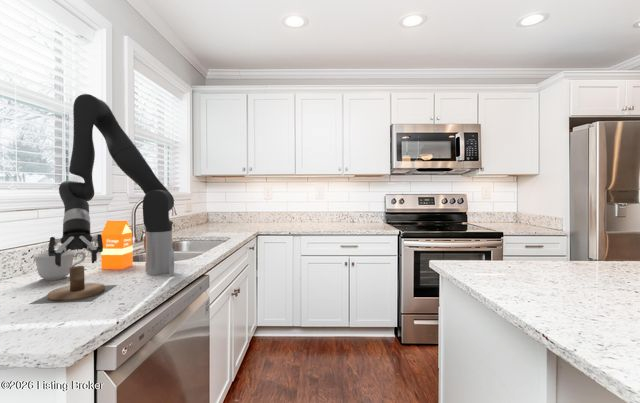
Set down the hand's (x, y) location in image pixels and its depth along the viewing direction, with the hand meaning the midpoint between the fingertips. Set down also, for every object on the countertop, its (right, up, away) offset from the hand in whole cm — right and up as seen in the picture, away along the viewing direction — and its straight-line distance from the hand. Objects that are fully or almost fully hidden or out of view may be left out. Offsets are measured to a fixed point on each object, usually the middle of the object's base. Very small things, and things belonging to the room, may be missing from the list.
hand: (76, 263), depth 101 cm
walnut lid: (+3, -9, -3) cm, 10 cm away
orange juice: (-10, -9, +35) cm, 38 cm away
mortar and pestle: (+6, -9, +40) cm, 41 cm away
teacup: (-17, -9, +15) cm, 24 cm away
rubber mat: (+3, -10, -3) cm, 11 cm away
